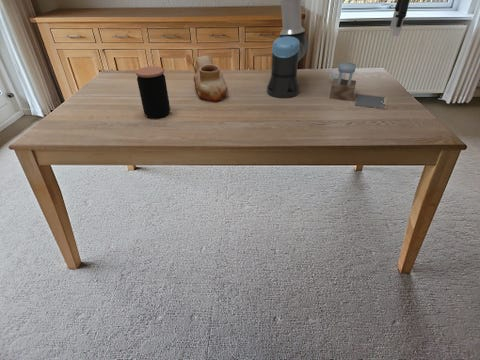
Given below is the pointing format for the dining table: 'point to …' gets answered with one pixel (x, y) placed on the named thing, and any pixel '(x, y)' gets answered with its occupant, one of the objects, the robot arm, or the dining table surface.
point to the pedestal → (342, 90)
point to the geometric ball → (335, 74)
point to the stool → (346, 71)
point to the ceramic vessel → (209, 80)
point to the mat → (369, 101)
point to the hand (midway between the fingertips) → (393, 32)
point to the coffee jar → (153, 92)
